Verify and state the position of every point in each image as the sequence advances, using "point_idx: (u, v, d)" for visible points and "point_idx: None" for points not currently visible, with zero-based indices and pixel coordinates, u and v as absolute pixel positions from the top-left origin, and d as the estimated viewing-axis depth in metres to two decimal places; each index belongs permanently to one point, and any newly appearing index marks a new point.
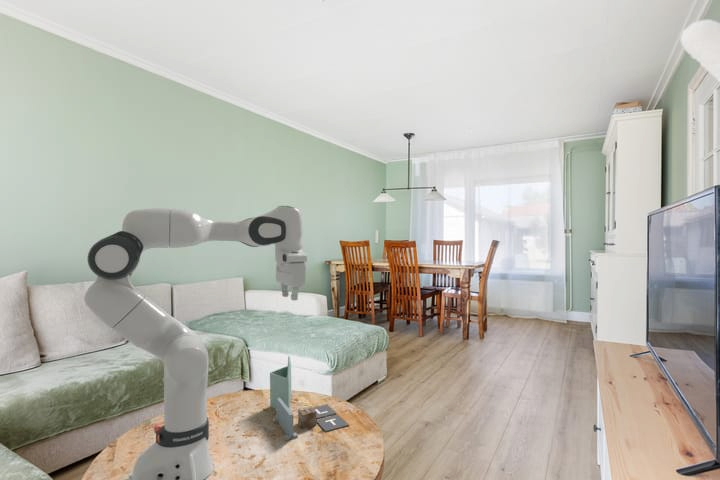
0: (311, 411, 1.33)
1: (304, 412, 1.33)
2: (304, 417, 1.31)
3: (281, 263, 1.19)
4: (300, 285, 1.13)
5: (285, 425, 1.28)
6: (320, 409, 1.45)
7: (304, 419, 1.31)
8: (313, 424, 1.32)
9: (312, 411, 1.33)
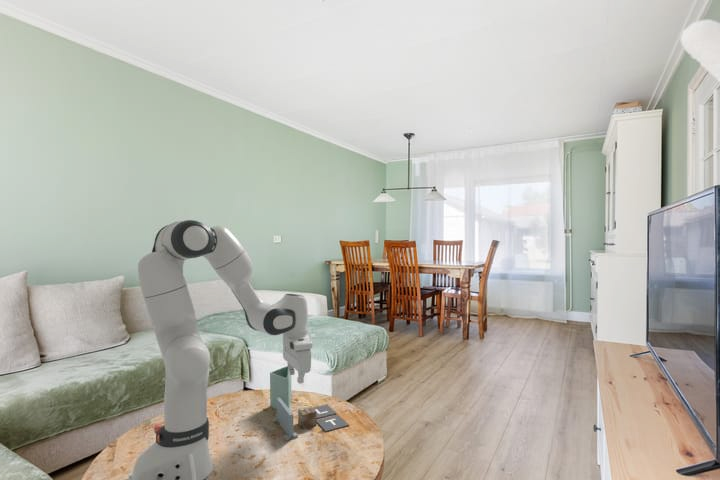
0: (311, 411, 1.33)
1: (304, 412, 1.33)
2: (304, 417, 1.31)
3: (288, 347, 1.30)
4: (306, 372, 1.24)
5: (285, 425, 1.28)
6: (320, 409, 1.45)
7: (304, 419, 1.31)
8: (313, 424, 1.32)
9: (312, 411, 1.33)
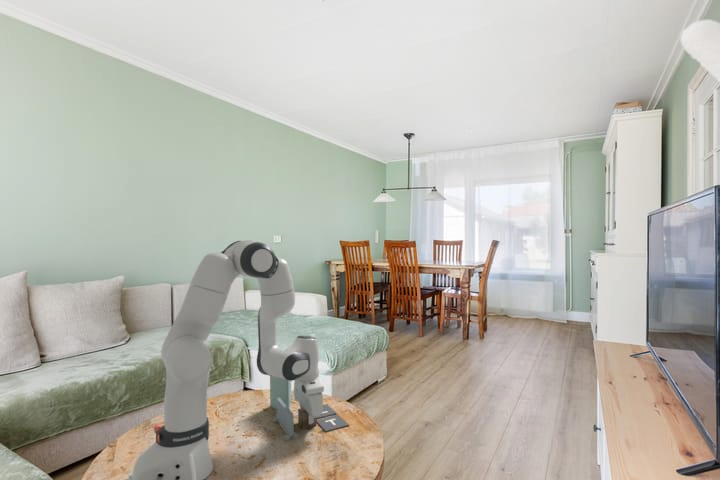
0: None
1: (304, 411, 1.33)
2: (304, 417, 1.31)
3: (300, 389, 1.32)
4: (318, 415, 1.25)
5: (285, 425, 1.28)
6: None
7: (304, 419, 1.31)
8: (313, 424, 1.32)
9: None
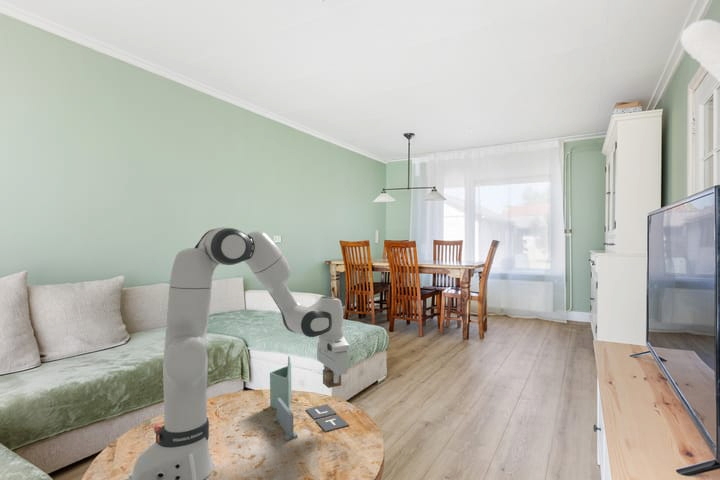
0: None
1: (329, 371, 1.33)
2: (329, 376, 1.31)
3: (325, 349, 1.32)
4: (344, 373, 1.26)
5: (285, 425, 1.28)
6: (320, 409, 1.45)
7: (329, 378, 1.31)
8: (338, 383, 1.33)
9: None
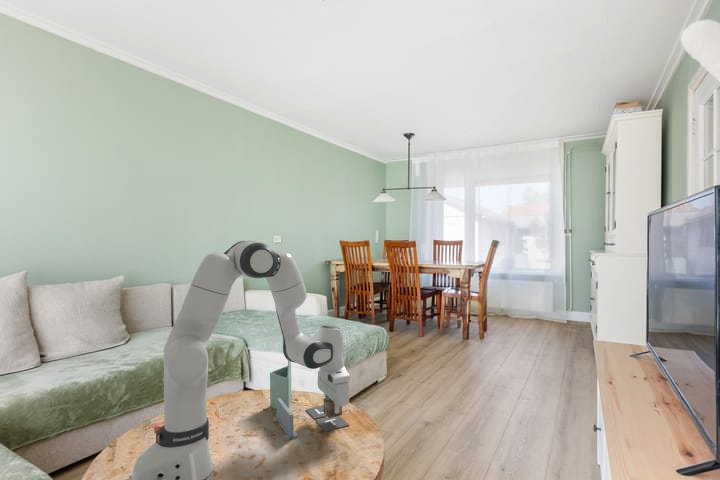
0: None
1: (330, 401, 1.33)
2: (330, 406, 1.31)
3: (325, 379, 1.32)
4: (345, 404, 1.26)
5: (285, 425, 1.28)
6: (320, 409, 1.45)
7: (330, 408, 1.31)
8: (339, 413, 1.33)
9: None
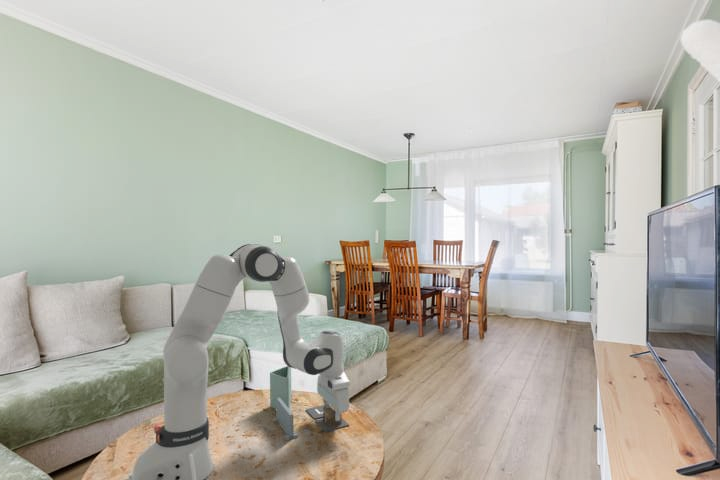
0: None
1: (330, 409, 1.33)
2: (330, 414, 1.31)
3: (325, 385, 1.32)
4: (344, 411, 1.26)
5: (285, 425, 1.28)
6: (320, 409, 1.45)
7: (330, 416, 1.31)
8: (338, 421, 1.33)
9: None
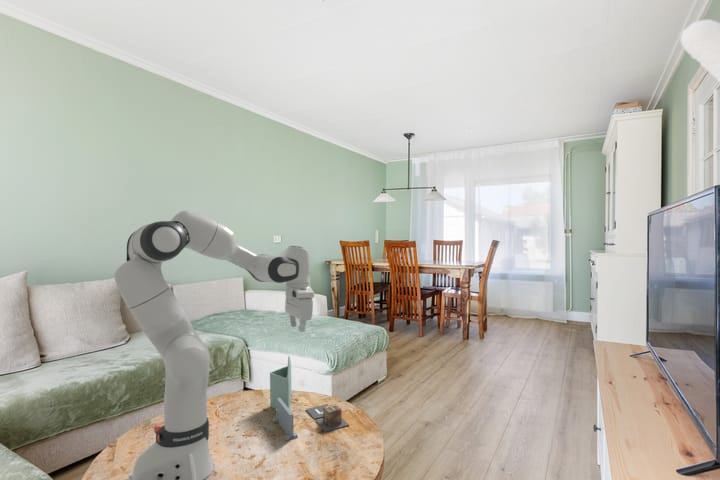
0: (336, 409, 1.33)
1: (330, 409, 1.33)
2: (330, 414, 1.31)
3: (291, 297, 1.33)
4: (307, 319, 1.27)
5: (285, 425, 1.28)
6: (320, 409, 1.45)
7: (330, 416, 1.31)
8: (338, 421, 1.33)
9: (337, 409, 1.33)
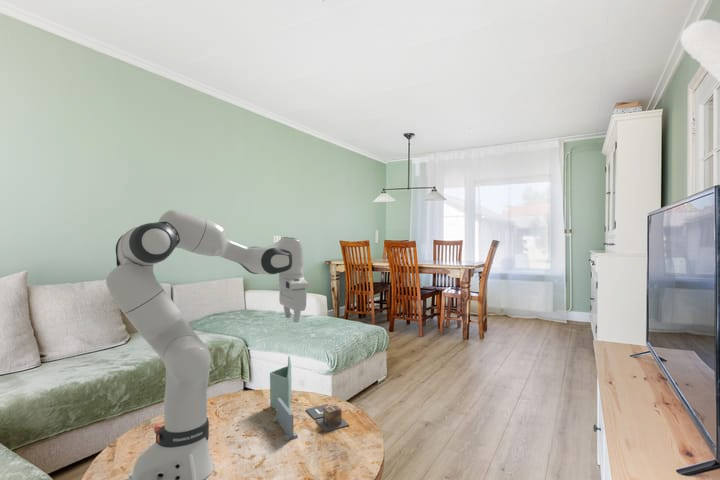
0: (336, 409, 1.33)
1: (330, 409, 1.33)
2: (330, 414, 1.31)
3: (284, 289, 1.33)
4: (301, 309, 1.27)
5: (285, 425, 1.28)
6: (320, 409, 1.45)
7: (330, 416, 1.31)
8: (338, 421, 1.33)
9: (337, 409, 1.33)
